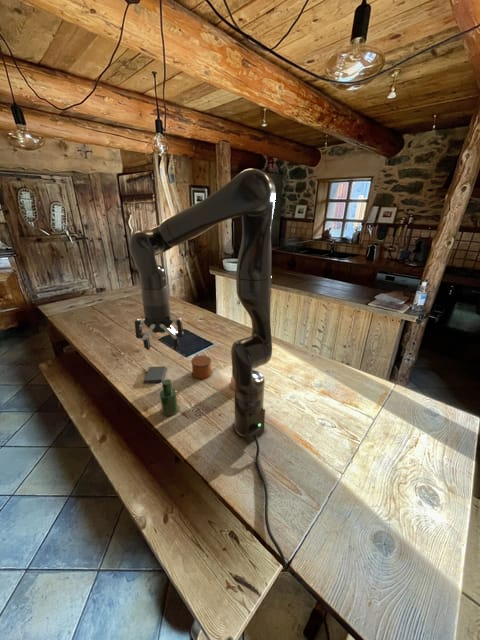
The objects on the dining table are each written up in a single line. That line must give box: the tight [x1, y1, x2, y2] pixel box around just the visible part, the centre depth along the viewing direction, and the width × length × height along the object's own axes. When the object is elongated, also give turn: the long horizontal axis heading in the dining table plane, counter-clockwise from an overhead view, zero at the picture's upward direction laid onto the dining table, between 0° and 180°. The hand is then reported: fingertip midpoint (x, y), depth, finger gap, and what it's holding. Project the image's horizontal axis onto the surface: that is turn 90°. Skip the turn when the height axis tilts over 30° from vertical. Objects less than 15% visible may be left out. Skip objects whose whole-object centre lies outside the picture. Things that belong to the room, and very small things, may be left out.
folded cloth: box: [143, 365, 167, 384], centre depth 115 cm, size 10×7×1 cm
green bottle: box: [159, 378, 179, 417], centre depth 93 cm, size 6×6×12 cm
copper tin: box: [190, 355, 212, 380], centre depth 115 cm, size 8×8×7 cm
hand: (162, 348), depth 85 cm, fingers open, 8 cm apart
